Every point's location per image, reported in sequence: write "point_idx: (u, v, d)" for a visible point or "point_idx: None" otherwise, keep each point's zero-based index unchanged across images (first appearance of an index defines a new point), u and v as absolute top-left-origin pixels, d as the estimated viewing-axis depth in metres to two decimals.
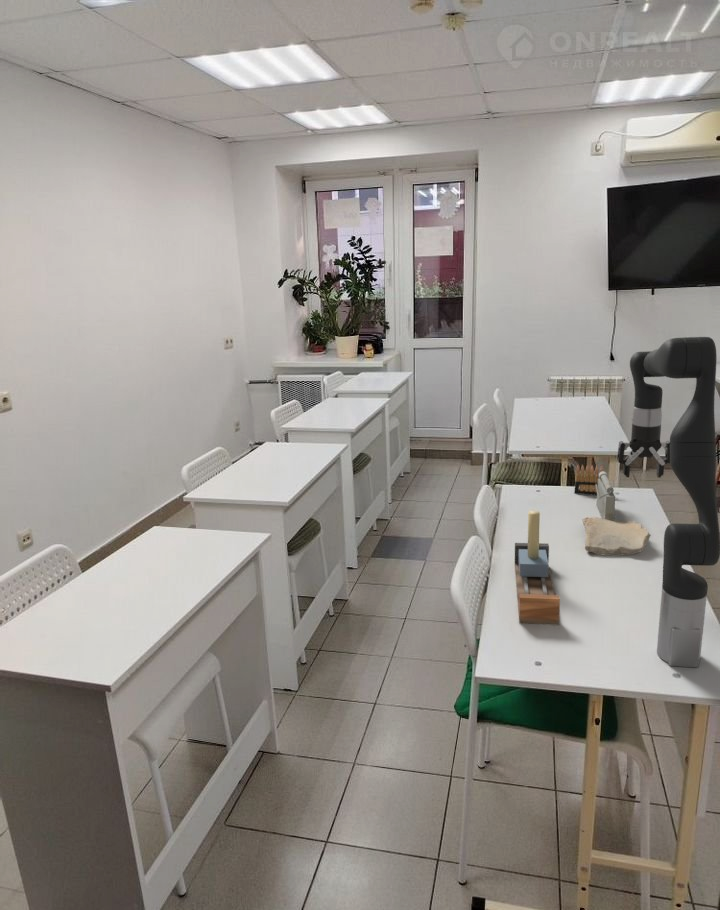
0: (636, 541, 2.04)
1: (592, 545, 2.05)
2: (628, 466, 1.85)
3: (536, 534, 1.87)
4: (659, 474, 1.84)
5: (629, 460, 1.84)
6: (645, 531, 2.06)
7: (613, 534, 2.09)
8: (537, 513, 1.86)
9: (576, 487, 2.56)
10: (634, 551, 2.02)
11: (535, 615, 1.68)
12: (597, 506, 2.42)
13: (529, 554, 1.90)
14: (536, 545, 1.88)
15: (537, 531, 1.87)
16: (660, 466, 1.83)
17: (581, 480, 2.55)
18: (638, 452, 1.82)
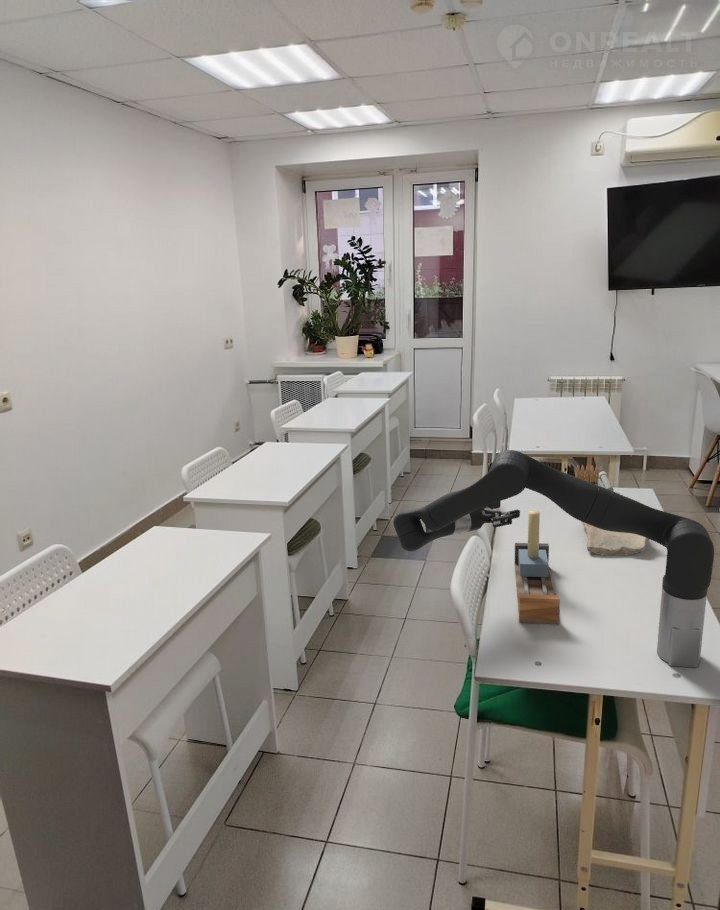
0: (637, 541, 2.04)
1: (594, 546, 2.04)
2: (509, 512, 1.77)
3: (536, 534, 1.87)
4: None
5: (503, 512, 1.76)
6: None
7: (614, 534, 2.09)
8: (537, 513, 1.86)
9: None
10: (636, 551, 2.02)
11: (535, 615, 1.68)
12: None
13: (529, 554, 1.90)
14: (536, 545, 1.88)
15: (537, 531, 1.87)
16: None
17: None
18: (491, 510, 1.77)
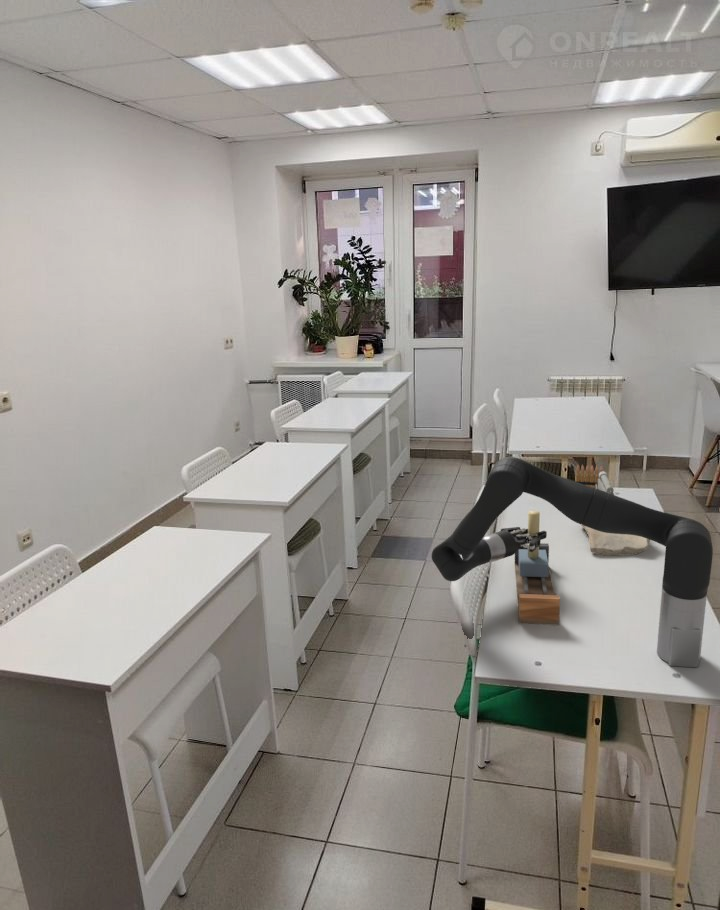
0: (639, 540, 2.04)
1: (597, 547, 2.04)
2: (537, 533, 1.87)
3: None
4: None
5: (532, 535, 1.85)
6: None
7: (615, 534, 2.09)
8: (537, 513, 1.86)
9: None
10: (639, 550, 2.02)
11: (535, 615, 1.68)
12: None
13: (529, 554, 1.90)
14: None
15: (537, 531, 1.87)
16: (527, 529, 1.90)
17: (581, 480, 2.55)
18: (522, 535, 1.85)
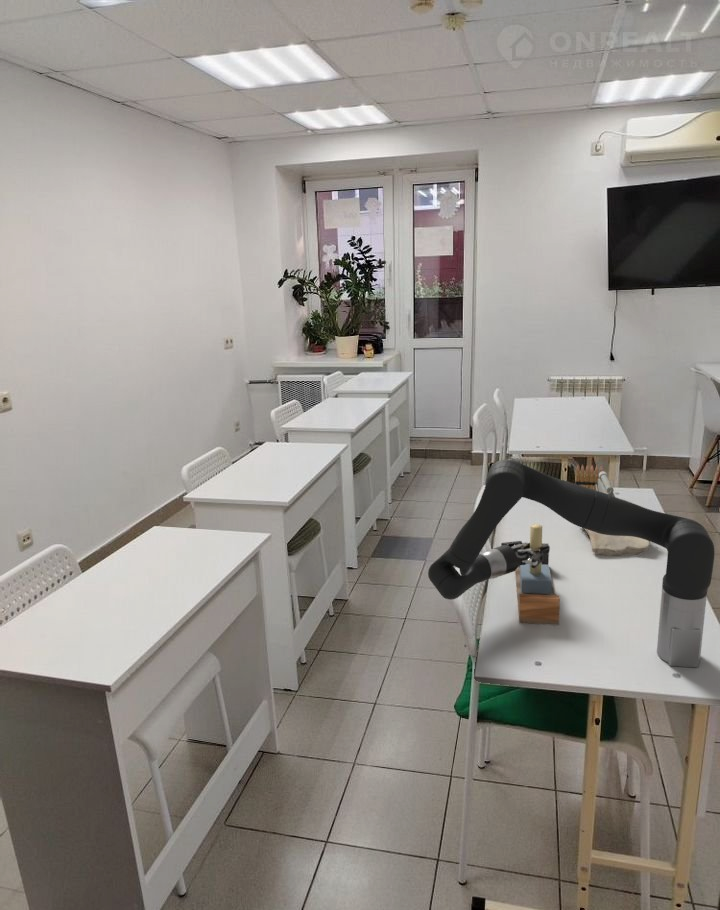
0: (640, 540, 2.05)
1: (599, 547, 2.03)
2: (539, 548, 1.77)
3: None
4: None
5: (535, 550, 1.76)
6: None
7: None
8: (540, 527, 1.77)
9: None
10: (640, 550, 2.02)
11: (535, 615, 1.68)
12: None
13: (531, 569, 1.80)
14: None
15: (540, 546, 1.78)
16: (529, 543, 1.81)
17: (581, 480, 2.55)
18: (524, 550, 1.75)
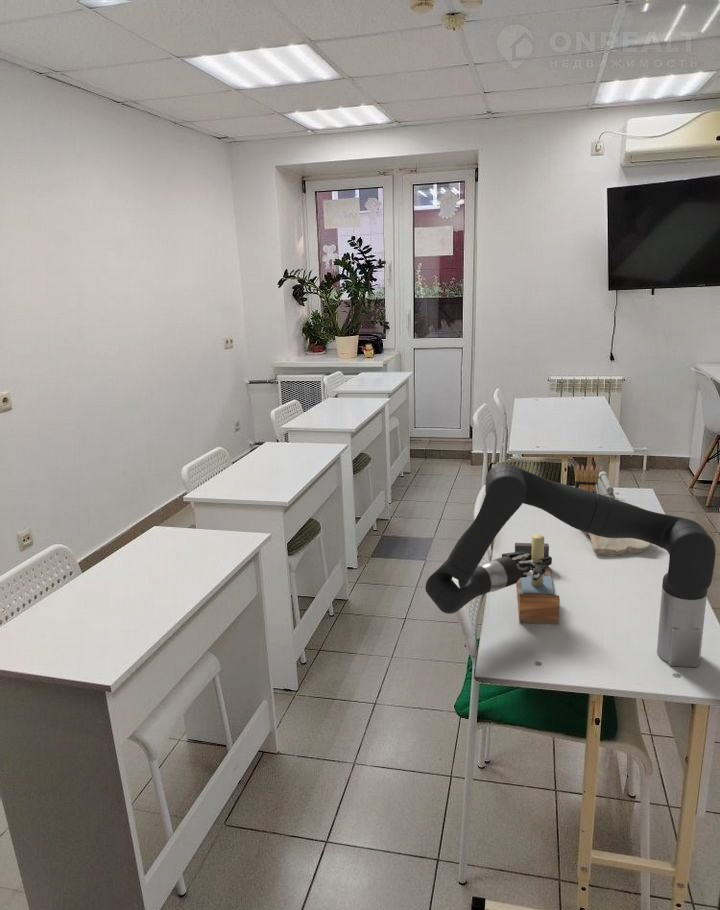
0: (641, 540, 2.05)
1: (600, 547, 2.03)
2: (541, 559, 1.71)
3: None
4: None
5: (536, 561, 1.69)
6: None
7: None
8: (542, 537, 1.70)
9: (576, 487, 2.56)
10: (641, 550, 2.02)
11: (535, 615, 1.68)
12: None
13: (532, 581, 1.74)
14: None
15: (542, 557, 1.71)
16: (531, 554, 1.74)
17: (581, 480, 2.55)
18: (525, 562, 1.69)
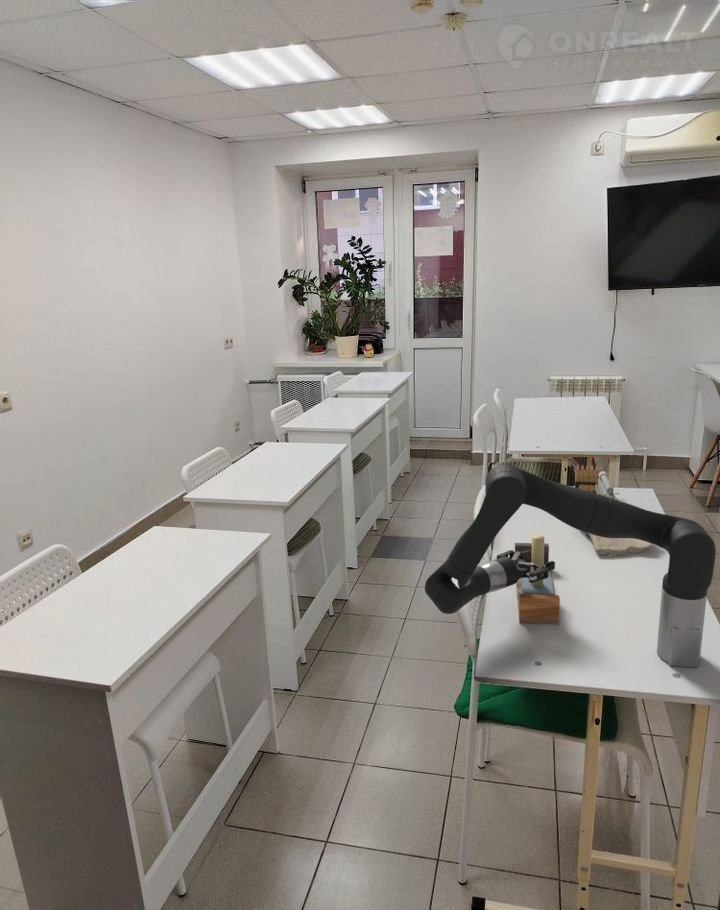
0: None
1: (602, 548, 2.03)
2: (544, 564, 1.68)
3: (541, 560, 1.71)
4: (528, 550, 1.76)
5: (539, 565, 1.67)
6: None
7: None
8: (542, 537, 1.70)
9: (576, 487, 2.56)
10: (643, 549, 2.02)
11: (535, 615, 1.68)
12: None
13: None
14: None
15: (542, 557, 1.71)
16: (521, 553, 1.75)
17: (581, 480, 2.55)
18: (525, 563, 1.68)
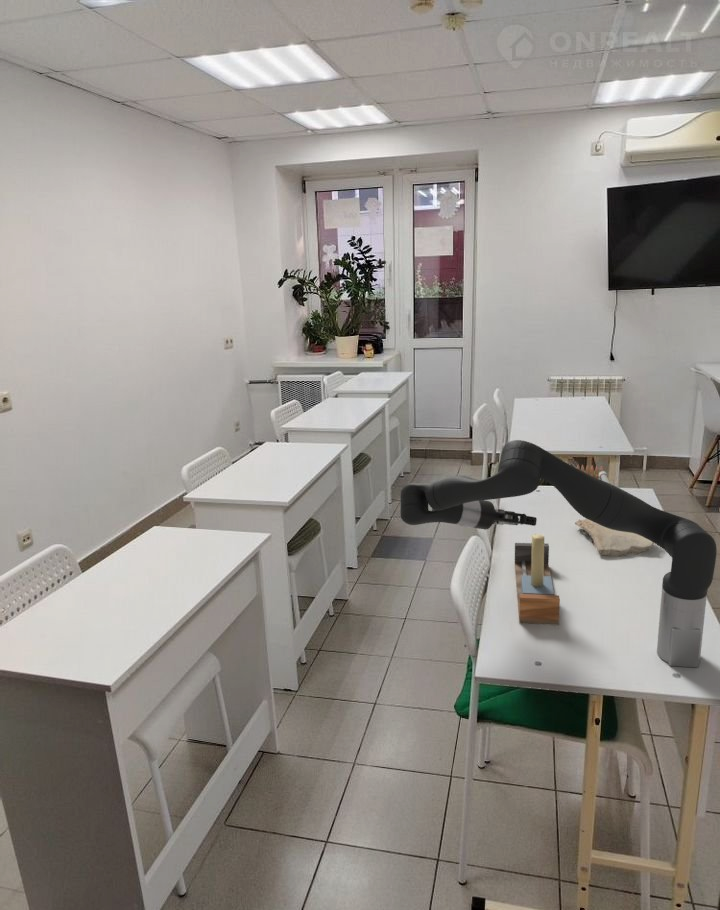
0: (643, 539, 2.05)
1: (605, 548, 2.03)
2: None
3: (541, 560, 1.71)
4: None
5: None
6: None
7: (618, 534, 2.09)
8: (542, 537, 1.70)
9: None
10: (645, 549, 2.03)
11: (535, 615, 1.68)
12: None
13: (532, 581, 1.74)
14: (540, 572, 1.72)
15: (542, 557, 1.71)
16: None
17: None
18: (505, 511, 1.68)
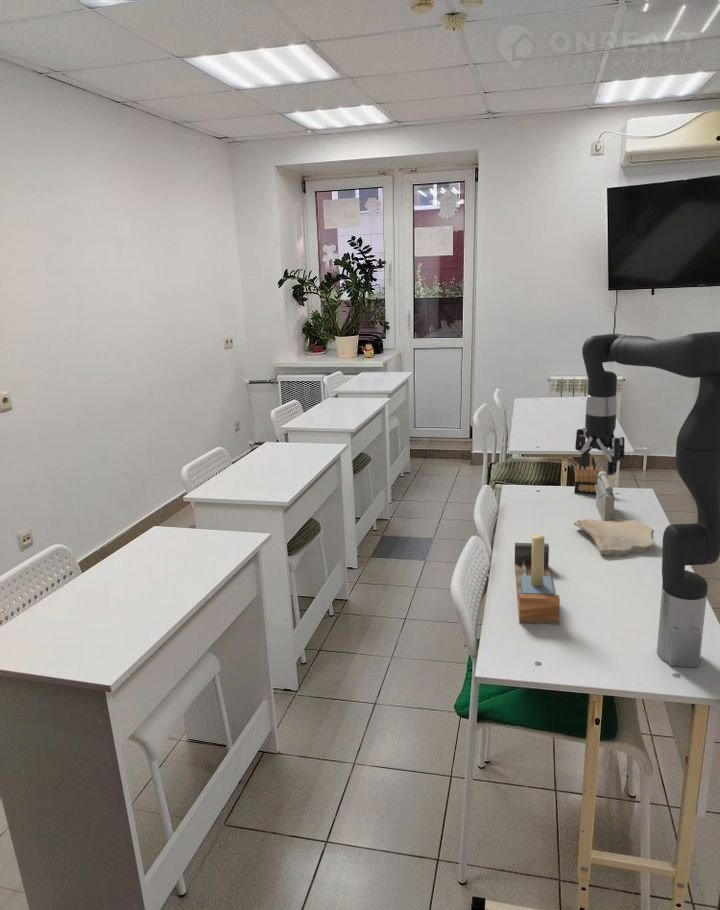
0: (643, 538, 2.06)
1: (607, 548, 2.02)
2: None
3: (541, 560, 1.71)
4: None
5: None
6: (647, 527, 2.09)
7: (619, 534, 2.09)
8: (542, 537, 1.70)
9: (576, 487, 2.56)
10: (646, 548, 2.03)
11: (535, 615, 1.68)
12: (597, 506, 2.42)
13: (532, 581, 1.74)
14: (540, 572, 1.72)
15: (542, 557, 1.71)
16: None
17: (581, 480, 2.55)
18: None
